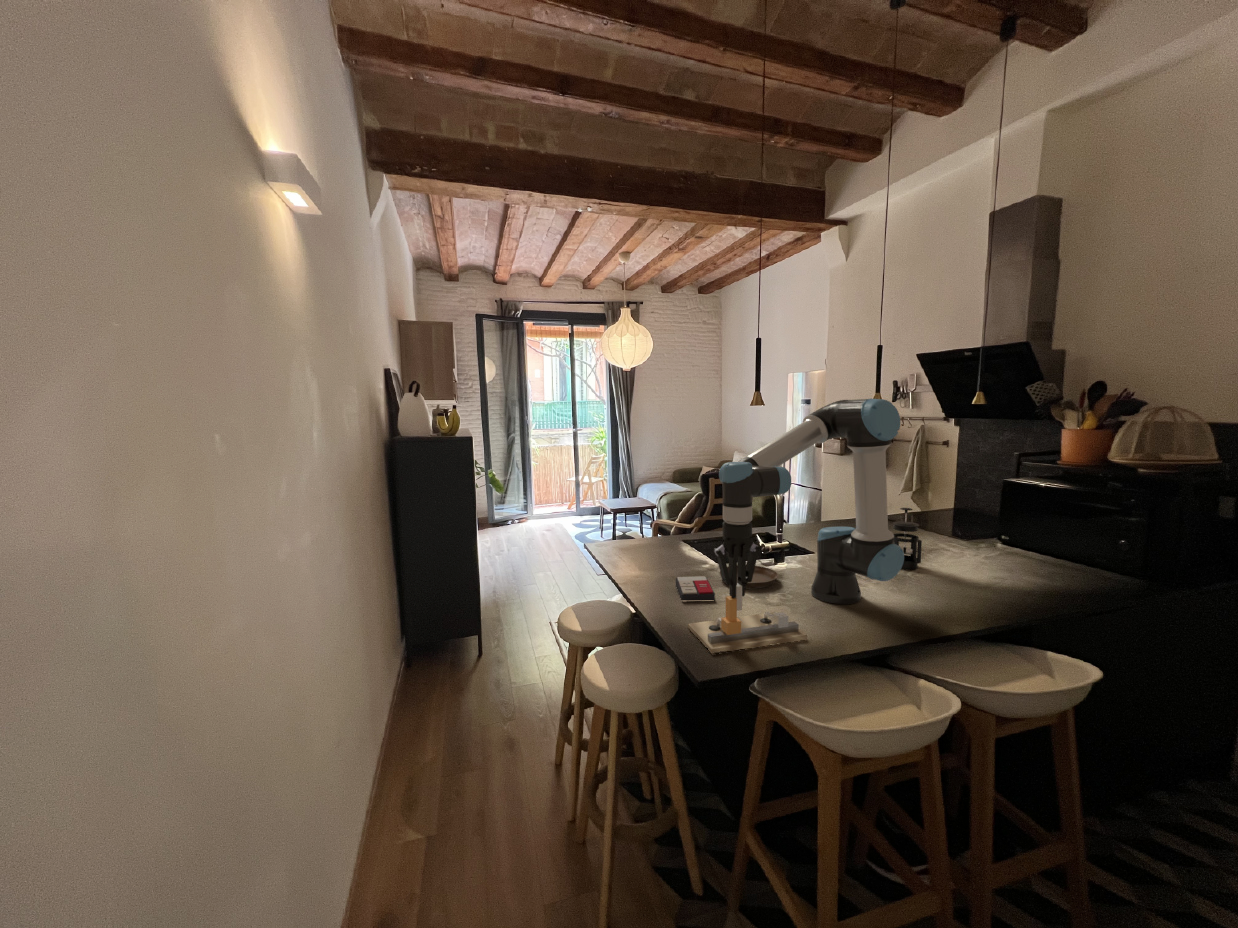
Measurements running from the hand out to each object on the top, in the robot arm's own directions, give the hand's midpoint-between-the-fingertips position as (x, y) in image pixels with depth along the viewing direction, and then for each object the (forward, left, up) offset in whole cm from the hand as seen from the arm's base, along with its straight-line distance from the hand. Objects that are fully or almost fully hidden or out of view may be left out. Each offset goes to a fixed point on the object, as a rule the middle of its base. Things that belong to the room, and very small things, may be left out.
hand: (737, 608), depth 133 cm
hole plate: (-5, -5, -10) cm, 12 cm away
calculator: (-4, -38, -11) cm, 39 cm away
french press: (-92, -40, -10) cm, 101 cm away
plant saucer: (-27, -44, -10) cm, 52 cm away
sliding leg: (+2, -3, -8) cm, 8 cm away
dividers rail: (-5, -3, -8) cm, 10 cm away
